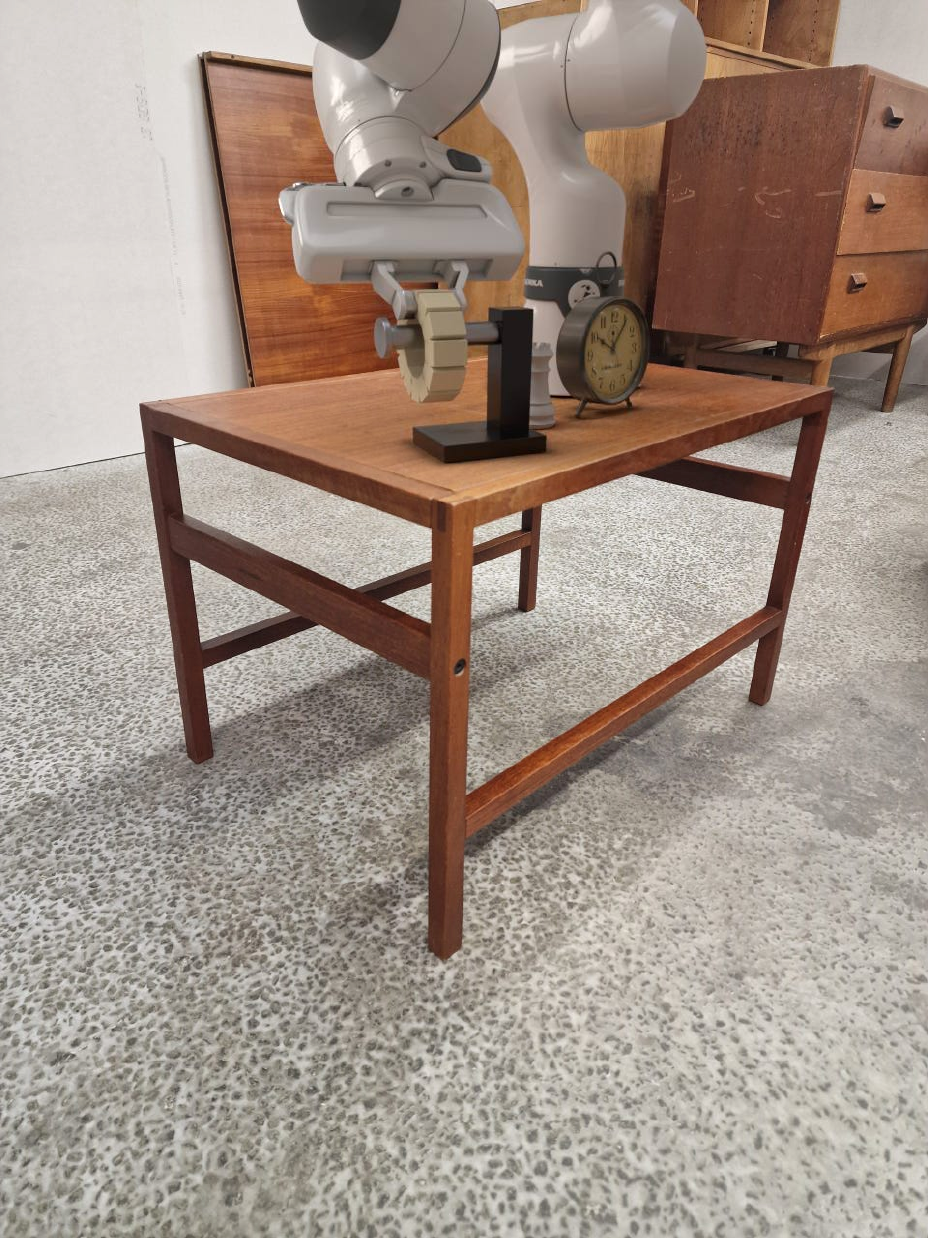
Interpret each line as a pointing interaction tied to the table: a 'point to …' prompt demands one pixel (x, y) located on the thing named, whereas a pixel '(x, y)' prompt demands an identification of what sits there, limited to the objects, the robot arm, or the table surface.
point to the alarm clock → (603, 347)
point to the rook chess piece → (541, 388)
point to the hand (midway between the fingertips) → (433, 314)
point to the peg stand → (505, 388)
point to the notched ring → (435, 349)
